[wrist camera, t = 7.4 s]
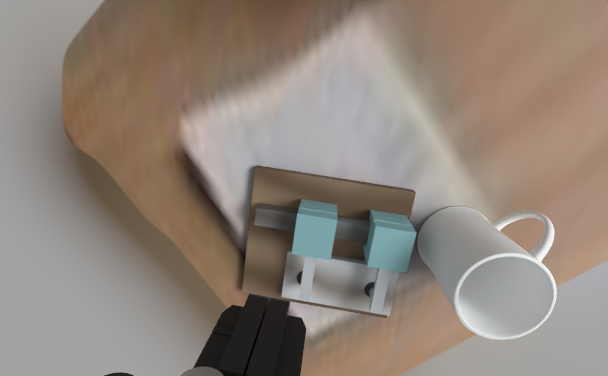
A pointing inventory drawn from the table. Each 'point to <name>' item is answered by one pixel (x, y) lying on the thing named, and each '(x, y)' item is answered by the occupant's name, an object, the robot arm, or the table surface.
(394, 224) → the fixed leg
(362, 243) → the board
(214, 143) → the table surface
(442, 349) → the table surface
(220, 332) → the robot arm
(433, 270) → the mug
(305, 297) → the sliding leg
